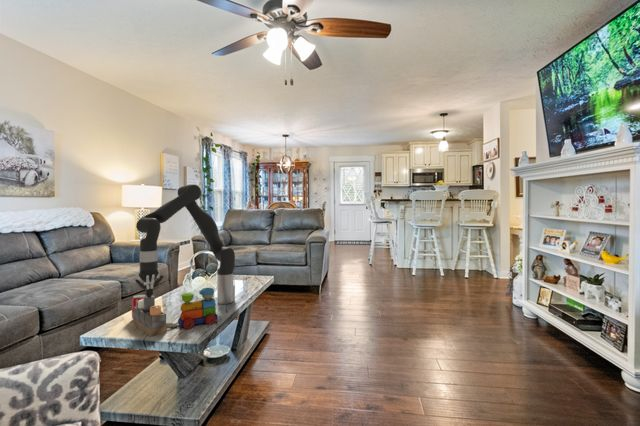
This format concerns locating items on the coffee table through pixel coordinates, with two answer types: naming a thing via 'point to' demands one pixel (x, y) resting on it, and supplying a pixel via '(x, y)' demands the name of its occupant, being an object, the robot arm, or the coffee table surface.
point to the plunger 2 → (155, 310)
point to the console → (150, 322)
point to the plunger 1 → (141, 304)
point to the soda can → (136, 302)
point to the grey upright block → (148, 303)
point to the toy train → (197, 310)
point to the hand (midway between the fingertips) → (149, 296)
